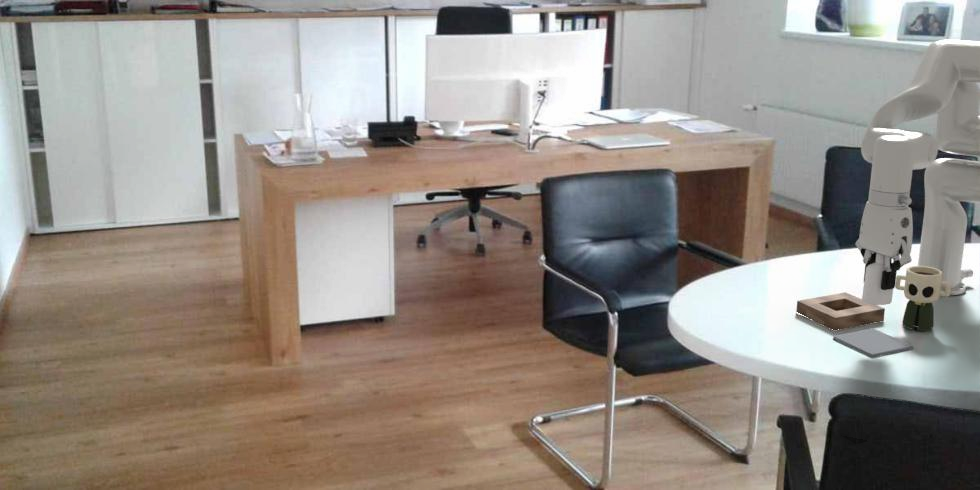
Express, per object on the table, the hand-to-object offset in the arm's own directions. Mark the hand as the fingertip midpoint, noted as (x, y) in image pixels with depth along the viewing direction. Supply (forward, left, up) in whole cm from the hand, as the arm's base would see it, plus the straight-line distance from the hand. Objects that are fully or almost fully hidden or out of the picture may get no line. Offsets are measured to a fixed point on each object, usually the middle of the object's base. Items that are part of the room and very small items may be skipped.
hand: (879, 284), depth 206 cm
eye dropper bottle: (0, 0, -4) cm, 4 cm away
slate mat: (0, 0, -13) cm, 13 cm away
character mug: (-16, -3, -13) cm, 21 cm away
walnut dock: (-5, -15, -13) cm, 20 cm away
